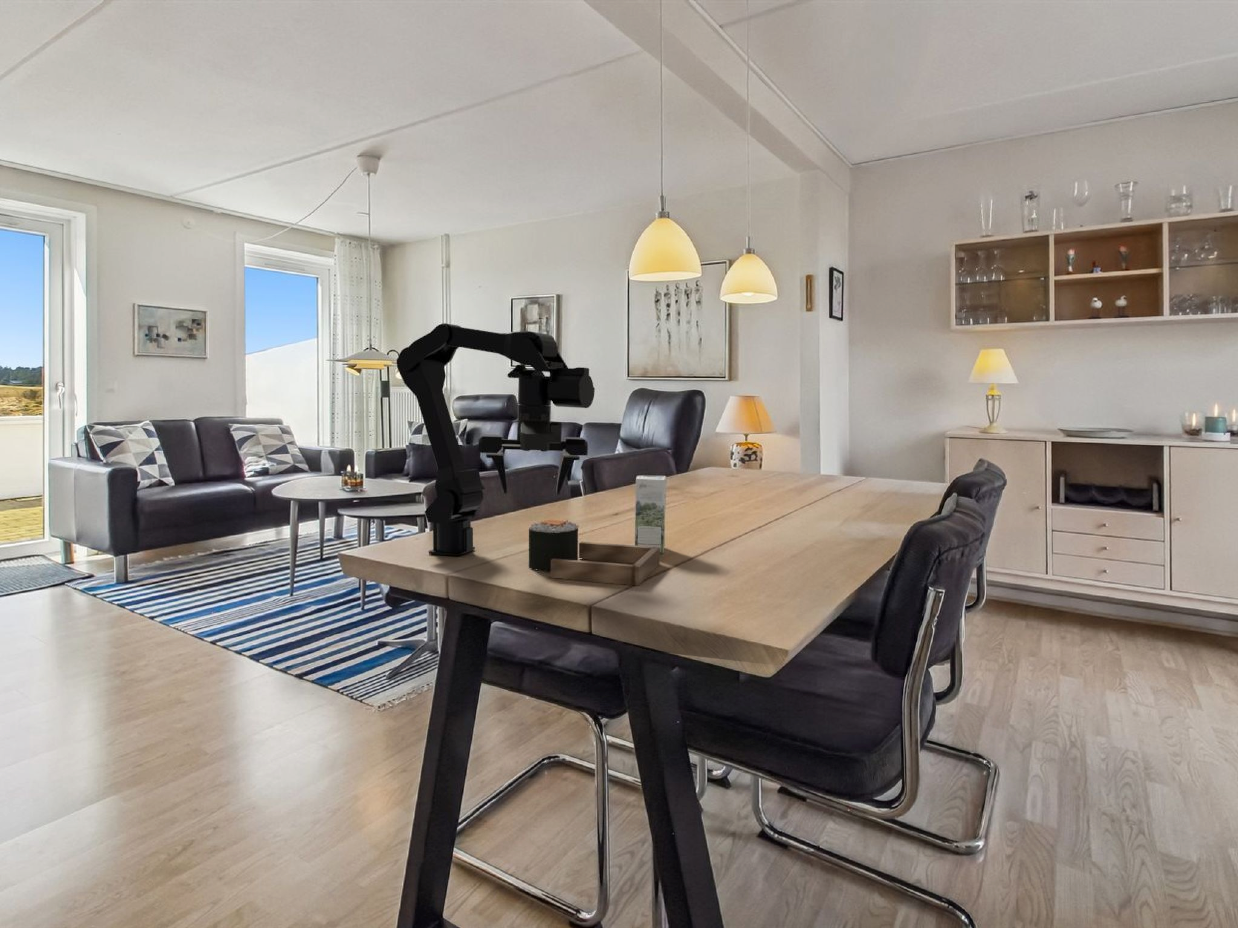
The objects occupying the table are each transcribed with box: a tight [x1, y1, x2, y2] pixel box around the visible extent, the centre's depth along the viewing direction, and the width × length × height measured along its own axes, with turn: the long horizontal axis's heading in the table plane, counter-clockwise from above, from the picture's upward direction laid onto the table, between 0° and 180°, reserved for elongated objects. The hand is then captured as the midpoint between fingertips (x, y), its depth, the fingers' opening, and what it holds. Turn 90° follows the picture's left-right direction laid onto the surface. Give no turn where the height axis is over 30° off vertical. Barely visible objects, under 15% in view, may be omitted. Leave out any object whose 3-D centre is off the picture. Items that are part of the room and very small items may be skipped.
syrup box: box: [634, 474, 667, 554], centre depth 136 cm, size 6×6×14 cm
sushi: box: [528, 518, 580, 572], centre depth 122 cm, size 8×8×8 cm
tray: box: [550, 541, 661, 587], centre depth 120 cm, size 15×15×3 cm
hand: (531, 493), depth 124 cm, fingers open, 9 cm apart
